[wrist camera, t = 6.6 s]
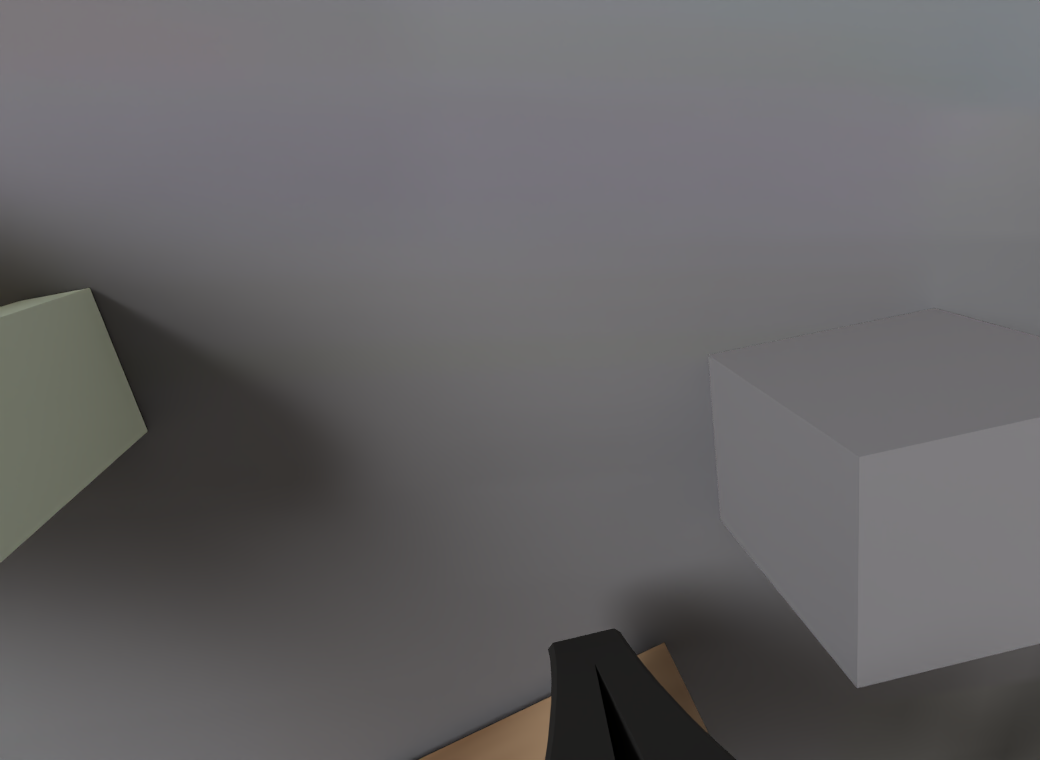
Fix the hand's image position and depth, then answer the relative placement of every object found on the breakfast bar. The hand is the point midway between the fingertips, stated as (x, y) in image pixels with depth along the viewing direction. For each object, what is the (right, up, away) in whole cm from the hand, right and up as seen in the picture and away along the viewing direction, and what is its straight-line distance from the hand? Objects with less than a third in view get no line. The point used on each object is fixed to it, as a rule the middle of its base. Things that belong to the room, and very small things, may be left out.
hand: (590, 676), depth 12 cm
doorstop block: (+5, +5, +2) cm, 7 cm away
